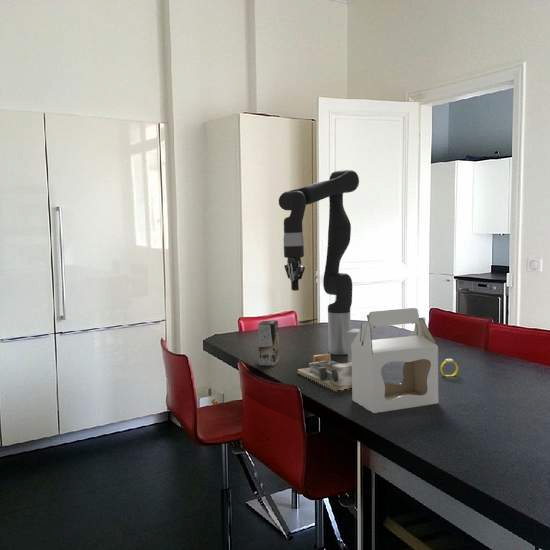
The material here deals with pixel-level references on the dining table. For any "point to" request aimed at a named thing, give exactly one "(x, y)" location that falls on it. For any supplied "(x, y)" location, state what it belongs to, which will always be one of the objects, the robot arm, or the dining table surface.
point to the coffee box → (268, 343)
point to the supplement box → (351, 341)
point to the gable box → (376, 353)
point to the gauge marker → (322, 372)
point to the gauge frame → (331, 376)
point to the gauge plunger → (323, 361)
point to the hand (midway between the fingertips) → (295, 290)
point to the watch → (449, 362)
